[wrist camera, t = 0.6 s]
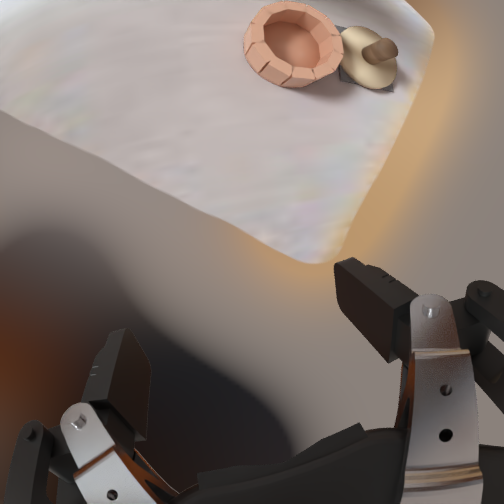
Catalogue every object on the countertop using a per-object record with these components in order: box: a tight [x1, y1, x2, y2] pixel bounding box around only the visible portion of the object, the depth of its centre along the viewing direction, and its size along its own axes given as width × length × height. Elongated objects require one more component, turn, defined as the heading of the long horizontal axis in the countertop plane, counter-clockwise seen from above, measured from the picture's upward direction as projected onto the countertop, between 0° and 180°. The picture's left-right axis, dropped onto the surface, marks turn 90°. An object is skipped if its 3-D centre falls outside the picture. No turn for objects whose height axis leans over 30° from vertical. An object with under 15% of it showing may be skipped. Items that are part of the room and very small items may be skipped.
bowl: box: [244, 1, 344, 88], centre depth 27 cm, size 12×12×5 cm
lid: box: [339, 26, 398, 89], centre depth 28 cm, size 11×11×6 cm
